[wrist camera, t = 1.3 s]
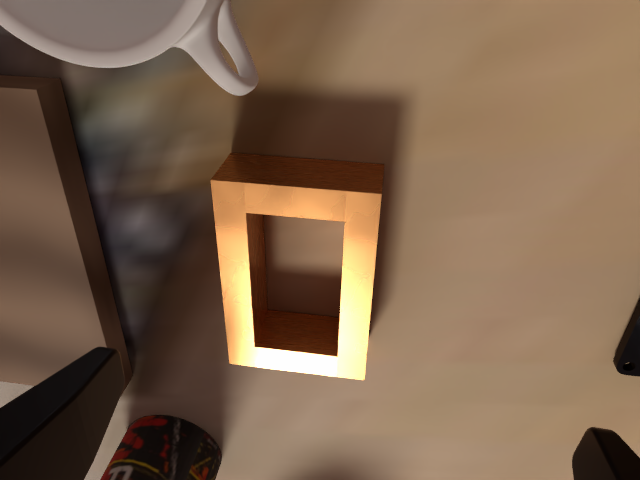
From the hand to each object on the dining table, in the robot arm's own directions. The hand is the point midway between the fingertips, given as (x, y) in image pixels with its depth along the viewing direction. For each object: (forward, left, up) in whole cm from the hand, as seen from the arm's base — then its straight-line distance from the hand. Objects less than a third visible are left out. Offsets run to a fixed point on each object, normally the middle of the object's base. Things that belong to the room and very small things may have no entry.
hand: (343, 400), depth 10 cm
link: (-5, +3, -12) cm, 13 cm away
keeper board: (-6, +17, -12) cm, 21 cm away
